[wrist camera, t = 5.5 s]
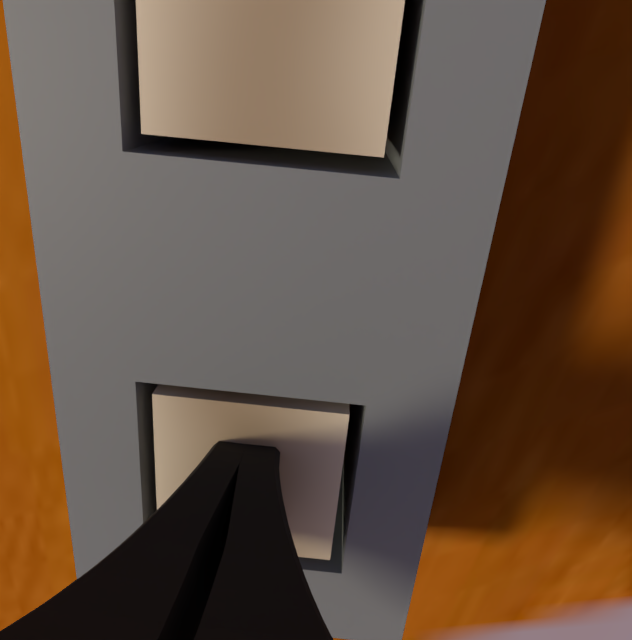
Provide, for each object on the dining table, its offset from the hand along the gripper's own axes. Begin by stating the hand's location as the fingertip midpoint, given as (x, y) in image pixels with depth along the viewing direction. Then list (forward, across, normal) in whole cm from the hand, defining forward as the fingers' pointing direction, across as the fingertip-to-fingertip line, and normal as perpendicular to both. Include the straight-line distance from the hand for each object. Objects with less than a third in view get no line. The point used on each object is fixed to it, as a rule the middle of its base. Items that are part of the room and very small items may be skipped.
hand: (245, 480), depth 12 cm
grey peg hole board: (+4, 0, -4) cm, 6 cm away
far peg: (+4, 0, 0) cm, 4 cm away
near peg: (+3, 0, -9) cm, 10 cm away
